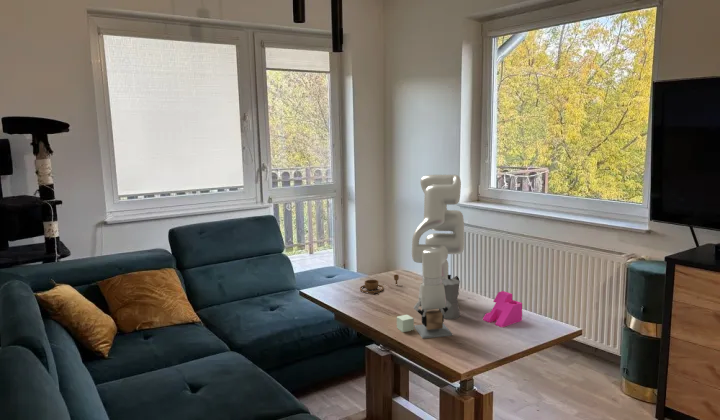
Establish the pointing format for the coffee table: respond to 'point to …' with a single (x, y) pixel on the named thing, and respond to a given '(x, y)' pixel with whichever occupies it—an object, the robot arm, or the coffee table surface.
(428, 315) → the walnut cube
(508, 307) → the pink angular chunky piece
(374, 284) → the place setting
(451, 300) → the coffeepot
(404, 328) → the pale green block
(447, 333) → the slate coaster
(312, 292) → the coffee table surface
